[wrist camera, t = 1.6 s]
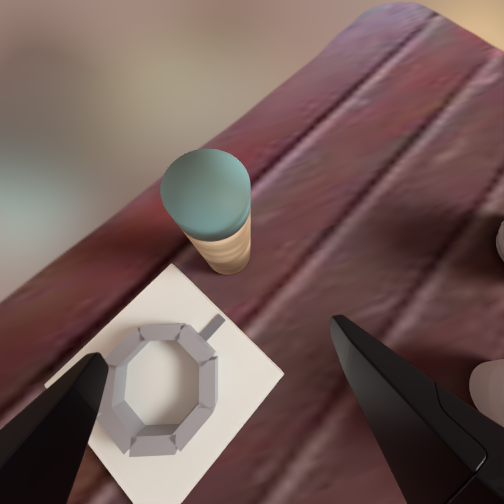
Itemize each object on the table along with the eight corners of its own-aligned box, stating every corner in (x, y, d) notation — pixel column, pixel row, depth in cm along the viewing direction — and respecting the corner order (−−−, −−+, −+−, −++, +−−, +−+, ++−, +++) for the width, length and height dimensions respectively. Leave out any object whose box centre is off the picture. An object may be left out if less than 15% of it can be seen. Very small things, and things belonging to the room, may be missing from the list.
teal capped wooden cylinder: (229, 284, 22) (204, 246, 10) (197, 254, 23) (141, 188, 11) (259, 252, 23) (268, 184, 11) (228, 225, 24) (206, 134, 12)
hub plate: (162, 519, 18) (145, 559, 15) (55, 381, 20) (23, 392, 17) (282, 370, 20) (287, 379, 18) (175, 265, 23) (164, 258, 20)
